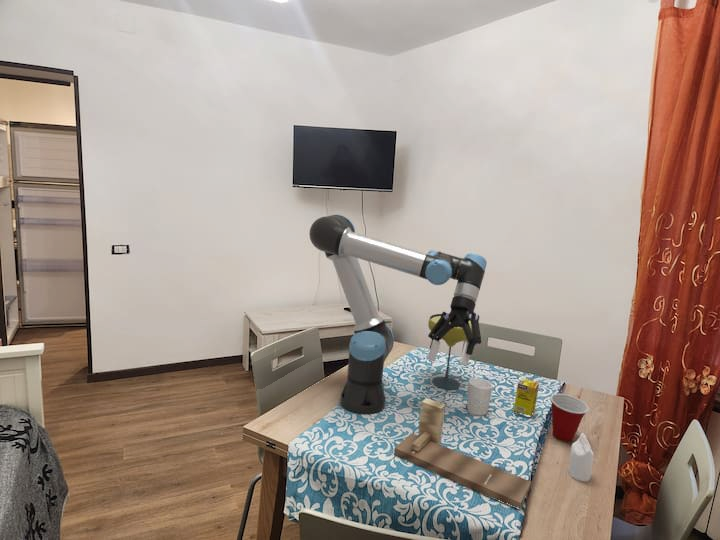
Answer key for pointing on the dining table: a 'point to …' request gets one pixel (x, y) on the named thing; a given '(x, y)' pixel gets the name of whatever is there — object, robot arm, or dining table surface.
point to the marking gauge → (430, 423)
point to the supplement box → (526, 396)
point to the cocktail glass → (451, 339)
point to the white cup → (479, 396)
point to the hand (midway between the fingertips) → (446, 362)
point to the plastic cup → (566, 416)
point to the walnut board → (466, 471)
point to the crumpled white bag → (581, 459)
